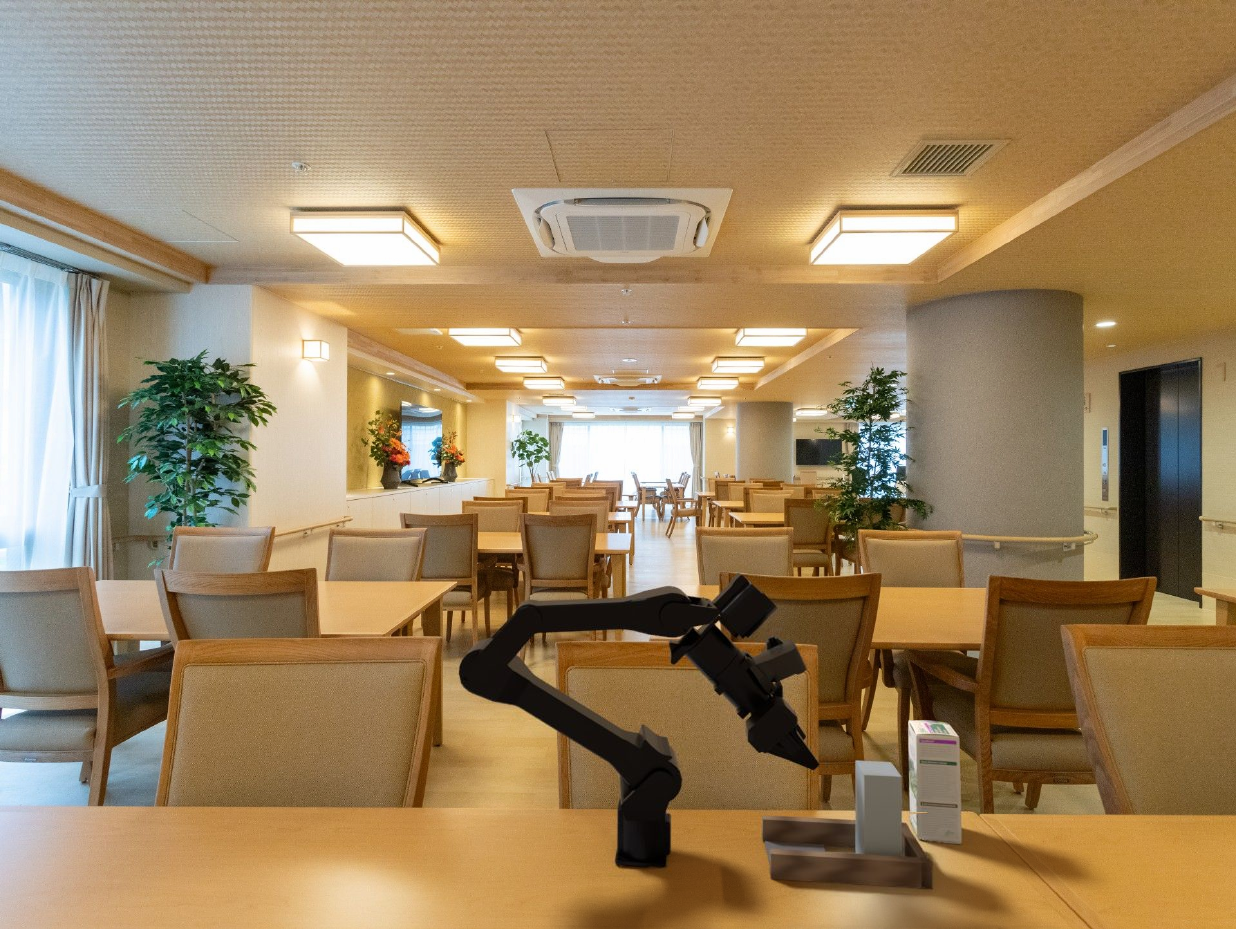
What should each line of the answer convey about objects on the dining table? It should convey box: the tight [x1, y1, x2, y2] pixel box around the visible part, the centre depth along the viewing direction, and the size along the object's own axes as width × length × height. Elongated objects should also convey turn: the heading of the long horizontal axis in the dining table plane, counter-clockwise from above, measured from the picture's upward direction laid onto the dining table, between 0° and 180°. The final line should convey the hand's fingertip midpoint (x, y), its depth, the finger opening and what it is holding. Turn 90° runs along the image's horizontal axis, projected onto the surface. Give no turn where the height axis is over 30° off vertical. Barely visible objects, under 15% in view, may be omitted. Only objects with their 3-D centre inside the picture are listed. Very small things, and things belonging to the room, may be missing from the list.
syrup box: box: [907, 719, 963, 845], centre depth 96 cm, size 6×6×14 cm
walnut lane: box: [761, 814, 934, 890], centre depth 88 cm, size 19×10×3 cm, turn 85°
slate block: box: [854, 760, 903, 856], centre depth 88 cm, size 4×4×12 cm
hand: (809, 752), depth 89 cm, fingers open, 9 cm apart
